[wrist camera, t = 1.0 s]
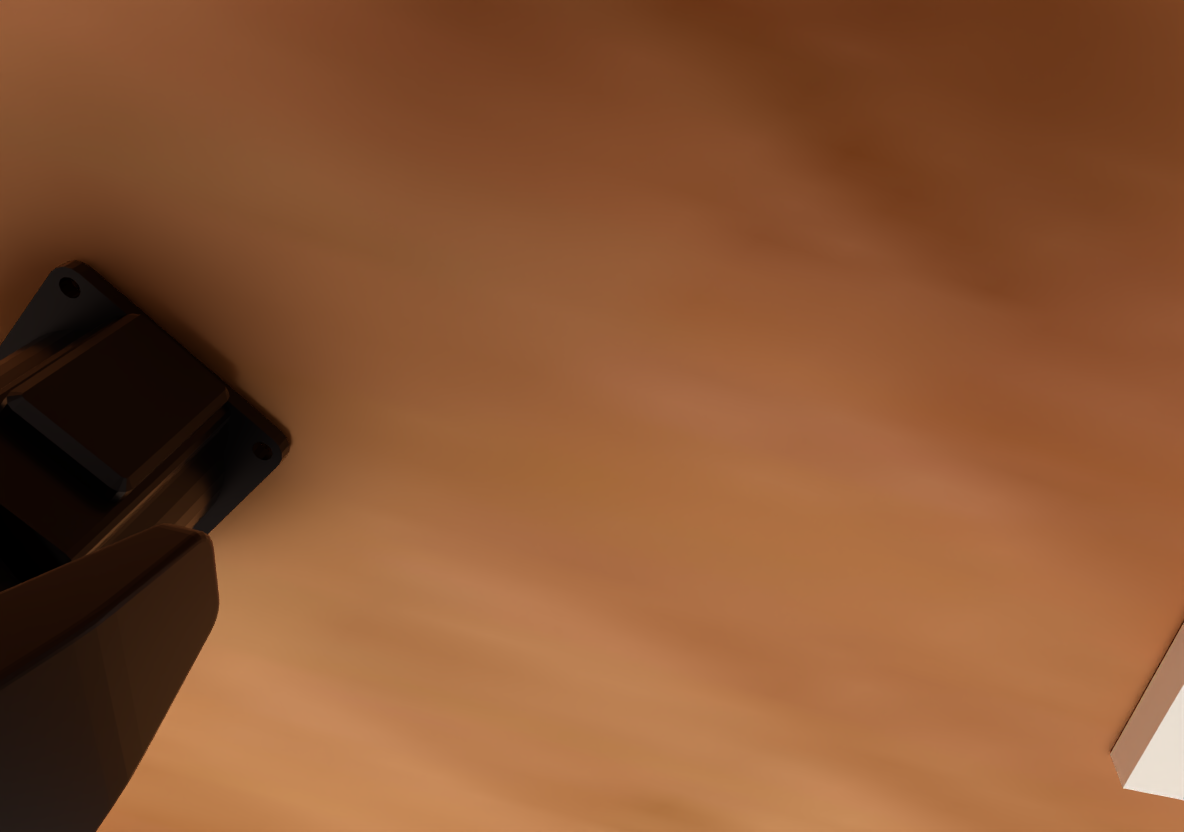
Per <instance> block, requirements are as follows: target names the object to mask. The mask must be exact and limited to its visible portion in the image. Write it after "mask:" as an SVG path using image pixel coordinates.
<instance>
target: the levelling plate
mask: <svg viewBox="0 0 1184 832" xmlns="http://www.w3.org/2000/svg"><path fill="white" fill-rule="evenodd" d="M1110 756H1111V758H1112V761H1113V763H1114V766H1115V769H1116V771H1117V774H1118V777H1119V779H1120V782H1121V785H1122V787H1123V788H1125V789H1130V790H1135V791H1140V792H1145V793H1150V794H1155V795H1160V796H1165V797H1170V798H1175V799H1180V800H1184V623H1183V625H1182V627H1181V628H1180V630H1179V632H1178V634H1177V636H1176V637H1175V639H1174V641H1173V643H1172V644H1171V646H1170V648H1169V650H1168V652H1167V653H1166V655H1165V657H1164V659H1163V661H1162V662H1161V664H1160V666H1159V668H1158V669H1157V671H1156V673H1155V675H1154V677H1153V678H1152V680H1151V682H1150V684H1149V686H1148V687H1147V689H1146V691H1145V693H1144V694H1143V696H1142V698H1141V700H1140V702H1139V703H1138V705H1137V707H1136V709H1135V711H1134V712H1133V714H1132V716H1131V718H1130V719H1129V721H1128V723H1127V725H1126V727H1125V728H1124V730H1123V732H1122V734H1121V736H1120V737H1119V739H1118V741H1117V743H1116V744H1115V746H1114V748H1113V750H1112V752H1111V753H1110Z"/></svg>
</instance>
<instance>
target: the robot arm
mask: <svg viewBox="0 0 1184 832" xmlns="http://www.w3.org/2000/svg"><path fill="white" fill-rule="evenodd" d="M71 279H73V280H75V281H76V283H77V284H78V285H79V287H80V290H78V289H77V288H76V287H75V286H74V285H73V284H72V281H71ZM261 442H263V443H265V444H267V445H268V446H269V447H270V448H271V450H272V451H268V450H267V449H265V448H264V447H263V446H262V445H261ZM288 452H289V442H288V440H287V437H286V436H285V435H284V434H283V433H282V432H281V431H280V430H279V429H278V428H277V427H276V426H275V425H273V424H272V423H271V422H270V421H269V420H268V419H266V418H265V417H264V416H263V415H262V414H261V413H259V412H258V411H257V410H256V409H255V408H254V407H252V406H251V405H250V404H249V403H248V402H247V401H246V400H244V399H243V398H242V397H241V396H240V395H239V394H237V393H236V392H235V391H234V390H233V389H232V388H230V387H229V386H228V385H227V384H226V383H225V382H223V381H222V380H221V379H220V378H219V377H218V376H216V375H215V374H214V373H213V372H212V371H211V370H210V369H208V368H207V367H206V366H205V365H204V364H203V363H201V362H200V361H199V360H198V359H197V358H196V357H194V356H193V355H192V354H191V353H190V352H189V351H187V350H186V349H185V348H184V347H183V346H182V345H180V344H179V343H178V342H177V341H176V340H175V339H174V338H172V337H171V336H170V335H169V334H168V333H167V332H165V331H164V330H163V329H162V328H161V327H160V326H158V325H157V324H156V323H155V322H154V321H153V320H151V319H150V318H149V317H148V316H147V315H146V314H145V313H143V312H142V311H141V310H140V309H139V308H138V307H136V306H135V305H134V304H133V303H132V302H131V301H129V300H128V299H127V298H126V297H125V296H124V295H122V294H121V293H120V292H119V291H118V290H117V289H115V288H114V287H113V286H112V285H111V284H110V283H109V282H107V281H106V280H105V279H104V278H103V277H102V276H100V275H99V274H98V273H97V272H96V271H95V270H93V269H92V268H91V267H90V266H88V265H86V264H85V263H83V262H79V261H76V260H74V261H68V262H66V263H64V264H62V265H60V266H58V267H57V268H55V269H54V270H53V271H51V273H50V274H49V276H48V277H47V278H46V280H45V281H44V283H43V284H42V286H41V287H40V289H39V290H38V292H37V293H36V294H35V296H34V297H33V299H32V300H31V302H30V303H29V305H28V306H27V308H26V309H25V311H24V312H23V313H22V315H21V316H20V318H19V319H18V321H17V322H16V324H15V325H14V327H13V328H12V330H11V331H10V332H9V334H8V335H7V337H6V338H5V340H4V341H3V343H2V344H1V346H0V832H96V831H97V829H98V828H99V826H100V825H101V823H102V822H103V820H104V819H105V817H106V816H107V814H108V813H109V812H110V810H111V809H112V807H113V806H114V804H115V802H116V801H117V799H118V798H119V796H120V795H121V793H122V792H123V790H124V789H125V787H126V785H127V784H128V782H129V781H130V779H131V777H132V775H133V774H134V772H135V770H136V769H137V767H138V765H139V763H140V762H141V760H142V758H143V756H144V755H145V753H146V751H147V749H148V747H149V745H150V743H151V742H152V740H153V738H154V736H155V734H156V732H157V730H158V729H159V727H160V725H161V723H162V721H163V719H164V717H165V716H166V714H167V712H168V710H169V708H170V706H171V704H172V703H173V701H174V699H175V697H176V695H177V693H178V692H179V690H180V688H181V686H182V684H183V682H184V680H185V679H186V677H187V675H188V673H189V671H190V669H191V667H192V666H193V664H194V662H195V660H196V658H197V656H198V654H199V653H200V651H201V649H202V647H203V645H204V643H205V642H206V640H207V638H208V636H209V634H210V632H211V630H212V628H213V626H214V624H215V621H216V618H217V614H218V610H219V592H218V583H217V574H216V565H215V556H214V547H213V543H212V540H211V539H210V537H209V536H208V533H209V532H210V531H211V530H212V529H214V528H215V527H216V526H217V525H218V524H219V523H220V522H221V521H222V520H223V519H224V518H225V517H226V516H227V515H228V514H229V513H230V512H231V511H232V510H233V509H234V508H235V507H236V506H237V505H238V504H239V503H240V502H241V501H242V500H243V499H244V498H245V497H246V496H247V495H248V494H249V493H250V492H252V491H253V490H254V489H255V488H256V487H257V486H258V485H259V484H260V483H261V482H262V481H263V480H264V479H265V478H266V477H267V476H268V475H269V474H270V473H271V472H272V471H273V470H274V469H275V468H276V467H277V466H278V465H279V464H280V463H281V462H282V461H283V459H284V458H285V457H286V456H287V454H288Z"/></svg>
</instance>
